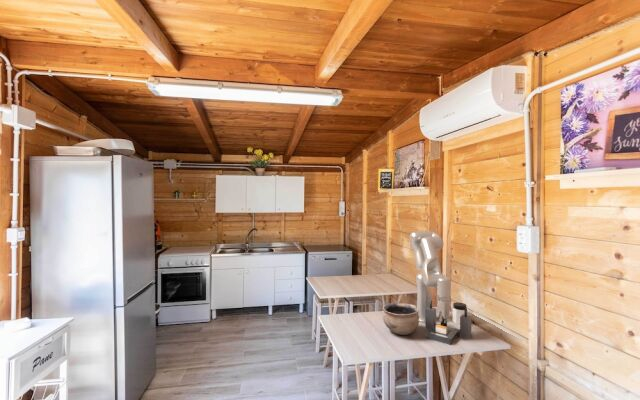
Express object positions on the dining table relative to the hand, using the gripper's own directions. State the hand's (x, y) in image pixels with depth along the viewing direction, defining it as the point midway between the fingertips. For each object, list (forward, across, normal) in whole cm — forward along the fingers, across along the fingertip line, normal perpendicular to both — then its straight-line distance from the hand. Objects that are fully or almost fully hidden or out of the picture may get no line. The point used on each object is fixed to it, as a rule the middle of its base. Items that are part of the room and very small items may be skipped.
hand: (443, 328), depth 190 cm
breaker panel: (+4, 0, 0) cm, 4 cm away
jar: (+4, -29, +1) cm, 29 cm away
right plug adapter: (+4, -8, +10) cm, 14 cm away
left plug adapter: (+4, -8, -11) cm, 14 cm away
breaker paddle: (+1, +3, 0) cm, 4 cm away
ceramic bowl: (+4, +11, -22) cm, 25 cm away
